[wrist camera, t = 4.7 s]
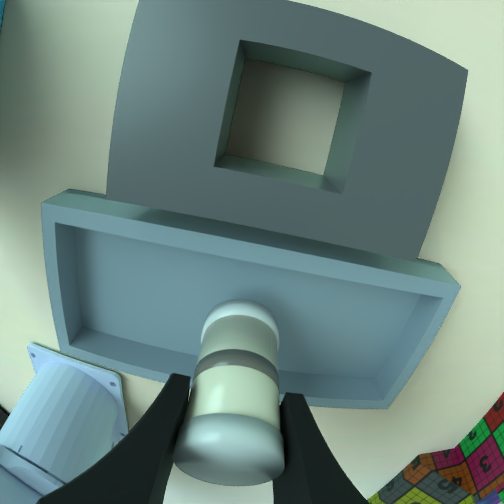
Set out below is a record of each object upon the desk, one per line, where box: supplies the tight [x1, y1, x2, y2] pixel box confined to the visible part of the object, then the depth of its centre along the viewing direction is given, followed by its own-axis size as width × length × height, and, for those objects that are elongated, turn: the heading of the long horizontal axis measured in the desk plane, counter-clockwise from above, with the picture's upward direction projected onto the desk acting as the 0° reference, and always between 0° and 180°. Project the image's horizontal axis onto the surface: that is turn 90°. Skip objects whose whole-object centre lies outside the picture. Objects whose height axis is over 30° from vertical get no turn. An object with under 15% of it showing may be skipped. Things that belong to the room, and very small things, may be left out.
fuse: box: [173, 299, 285, 486], centre depth 11 cm, size 3×3×7 cm
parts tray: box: [41, 189, 461, 409], centre depth 15 cm, size 9×20×2 cm, turn 78°
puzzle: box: [367, 392, 504, 504], centre depth 19 cm, size 25×17×14 cm
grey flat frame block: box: [106, 0, 468, 262], centre depth 11 cm, size 8×12×4 cm, turn 78°
